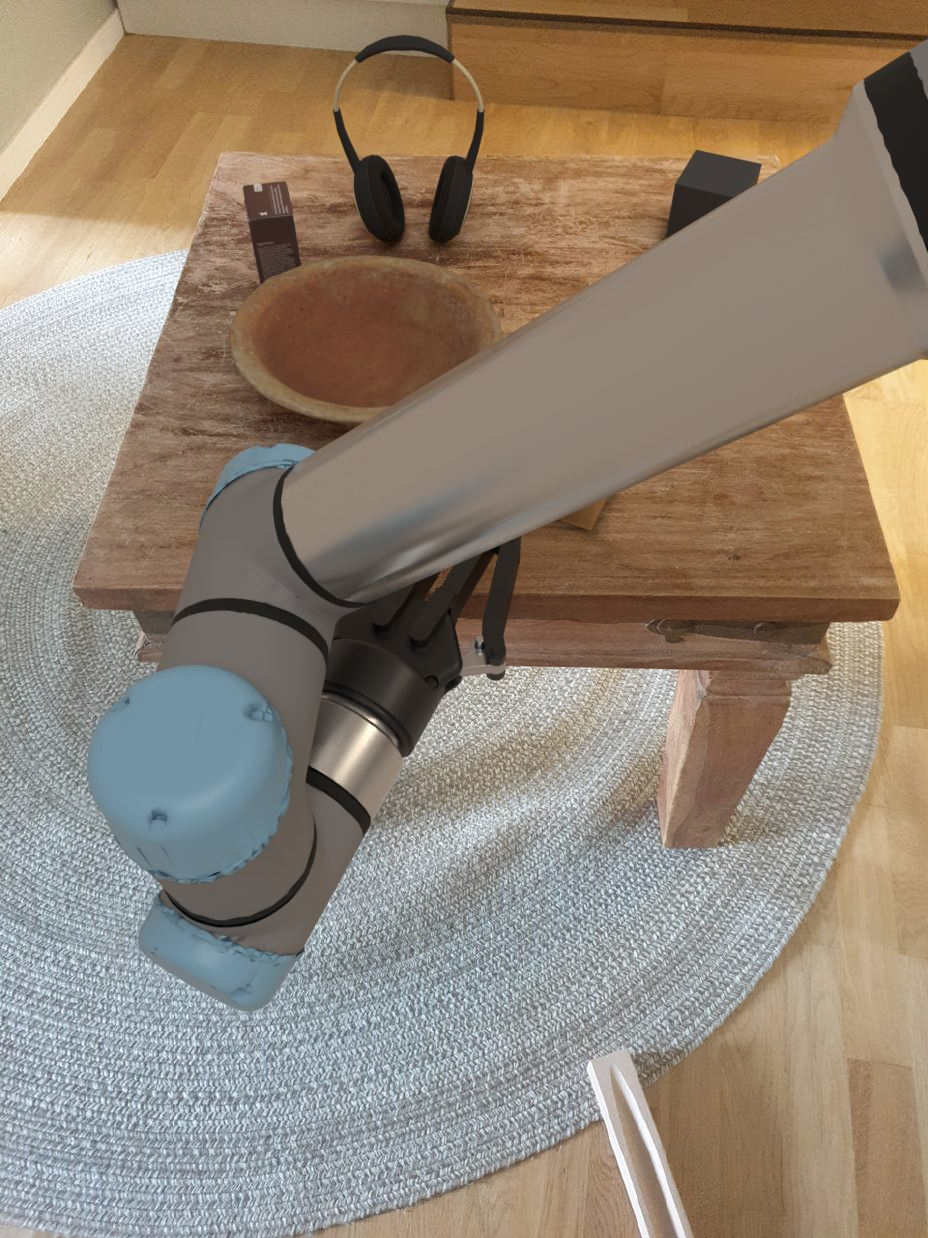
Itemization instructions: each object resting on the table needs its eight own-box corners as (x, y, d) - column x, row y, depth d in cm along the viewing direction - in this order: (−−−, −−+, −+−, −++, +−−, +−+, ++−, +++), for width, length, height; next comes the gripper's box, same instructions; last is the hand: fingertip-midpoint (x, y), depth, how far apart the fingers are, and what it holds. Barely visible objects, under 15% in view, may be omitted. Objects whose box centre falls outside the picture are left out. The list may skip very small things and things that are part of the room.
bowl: (526, 463, 81) (530, 393, 75) (255, 504, 79) (234, 436, 72) (475, 298, 94) (474, 226, 88) (242, 330, 92) (223, 258, 86)
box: (314, 325, 92) (293, 213, 82) (269, 332, 92) (243, 221, 82) (307, 289, 96) (286, 177, 86) (263, 295, 95) (237, 184, 85)
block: (746, 226, 100) (762, 163, 95) (728, 261, 97) (743, 198, 91) (684, 211, 102) (696, 148, 96) (664, 245, 99) (675, 183, 93)
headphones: (483, 260, 98) (482, 59, 81) (345, 258, 99) (316, 58, 82) (486, 214, 103) (486, 15, 86) (354, 212, 103) (329, 15, 87)
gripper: (265, 717, 57) (434, 464, 69) (454, 800, 54) (598, 520, 66) (239, 652, 51) (430, 387, 63) (451, 741, 48) (610, 444, 60)
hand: (515, 455), depth 65 cm, fingers closed
